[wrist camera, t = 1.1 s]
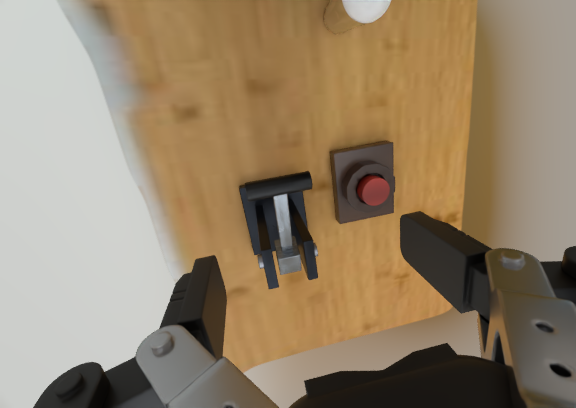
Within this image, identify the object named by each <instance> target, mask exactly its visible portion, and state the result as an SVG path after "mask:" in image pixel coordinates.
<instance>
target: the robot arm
mask: <svg viewBox="0 0 576 408" xmlns="http://www.w3.org/2000/svg"><path fill="white" fill-rule="evenodd" d="M400 248H401V252H402V255H403V257H404V259H405V260H406V261H407V262H408V263H409V264H410V265H411V266H412V267H413V268H414V269H415V270H416V271H417V272H418V273H419V274H420V275H421V276H422V277H423V278H424V279H425V280H427V281H428V282H429V283H430V284H431V285H432V286H433V287H434V288H435V289H436V290H437V291H438V292H439V293H440V294H441V295H442V296H443V297H444V298H445V299H446V300H447V301H448V302H450V303H451V304H452V305H453V306H454V307H455V308H456V309H457V310H458V311H459V312H460V313H465V312H469V311H473V310H476V311H478V319H477V322H478V331H479V340H480V350H481V358H480V357H475V356H467V355H457V354H456V353H455V351H454V350H453V349H452V348H451V347H450V346H449V345H448V343H445V344H441V345H438V346H434V347H430V348H427V349H423V350H419V351H415V352H412V353H411V354H409V355H408V356H406V357H404V358H403V359H401V360H399V361H398V362H396V363H394V364H393V365H391V366H389V367H388V368H386V369H384V370H380V371H339V372H336V373H332V374H328V375H325V376H321V377H317V378H313V379H309V380H306V381H304V382H305V387H306V393H307V394H306V395H305V396H303V397H301V398H300V399H298V400H297V401H296V402H295V403H293V404H292V405H291V406H290V407H289V408H576V246H573V247H569V248H567V249H566V250H565V252H564V256H563V261H557V262H555V261H553V262H540V261H539V260H538V259H536V258H535V257H534V256H532V255H530V254H528V253H525V252H522V251H519V250H515V249H507V248H498V249H491V248H489V247H488V246H486V245H484V244H483V243H481V242H479V241H477V240H476V239H474V238H472V237H470V236H469V235H466V234H465V233H464V232H462V231H460V230H458V229H457V228H455V227H453V226H451V225H450V224H448V223H445V222H442V221H438V220H434V219H433V218H431V217H429V216H428V215H426V214H424V213H423V212H420V211H418V212H414V213H409V214H405V215H402V216H401V218H400ZM226 304H227V297H226V290H225V286H224V282H223V279H222V275H221V272H220V268H219V265H218V262H217V259H216V256H215V255H213V256H208V257H203V258H199V259H196V260H195V263H194V266H193V270H192V273H187V274H184V275H183V276H182V277H181V278H180V279H179V281H178V282H177V283H176V285H175V287H174V290H173V294H172V296H171V298H170V302H169V304H168V306H167V309H166V312H165V314H164V317H163V320H162V323H161V326H160V328H159V329H158V330H157V331H155V332H153V333H152V334H151V335H149V336H148V337H147V338H146V339H145V340H144V341H143V342H142V343H141V344H140V346H139V347H138V349H137V352H136V356H135V357H134V358H132V359H130V360H128V361H126V362H124V363H122V364H120V365H118V366H116V367H114V368H112V369H110V370H108V371H106V372H104V371H103V369H102V367H101V365H100V364H98V363H94V362H89V363H84V364H81V365H78V366H76V367H74V368H72V369H70V370H68V371H67V372H65V373H63V374H62V375H61V376H59V377H58V378H57V379H56V380H54V381H53V382H52V383H51V384H50V385H49V386H48V387H47V388H46V390H45V391H44V392H43V394H42V395H41V396H40V398H39V399H38V401H37V402H36V404H35V406H34V407H33V408H279V407H278V406H277V405H276V404H275V403H274V402H273V401H272V400H271V399H270V398H269V397H268V396H266V395H265V394H264V393H263V392H262V391H261V390H260V389H259V388H258V387H257V386H256V385H255V384H254V383H253V382H252V381H251V380H250V379H248V378H247V377H246V376H245V375H244V374H243V373H242V372H241V371H240V370H239V369H238V368H237V367H236V366H235V365H234V364H233V363H232V362H230V361H229V360H228V359H227V358H226V357H223V356H222V355H223V342H224V330H225V317H226Z"/></svg>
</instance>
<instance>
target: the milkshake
mask: <svg viewBox="0 0 576 408" xmlns="http://www.w3.org/2000/svg"><path fill="white" fill-rule="evenodd" d="M390 2H391V0H331V1H330V3H329V4H328V6H327V8H326V9H325V14H324V23H325V25H326V27H327V30H328V31H330V32H332V33H334V34H340V33H344V32H347V31H349V30H351V29H354V28H356V27H359V26H362V25H365V24H368V23H371V22H374V21H375V20H377V19H379V18H380V17H381V16H382V15H383V14H384V13H385V12H386V10H387V9H388V7H389V4H390Z"/></svg>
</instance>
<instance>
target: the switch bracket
mask: <svg viewBox="0 0 576 408" xmlns="http://www.w3.org/2000/svg"><path fill="white" fill-rule="evenodd" d="M239 190H240V195H241V199H242V203H243V208H244V212H245V216H246V221H247V225H248V229H249V234H250V238H251V243H252V247H253V251H254V255H257V257H258V263H259V267H260V269H261V268H264V269H265V273H266V278H267V283H268V287H269V289H273V288H277V287H279V285H278V280H277V275H276V270H275V265H274V260H273V255H272V251H276V250H275V245H274V240H278V239H279V233H278V227H277V220H276V214H275V208H274V202H273V197H270V198H265V199H259V200H254V201H248V199H247V194H246V189H245V185H241V186H239ZM287 196H288V206H289V215H290V225H291V234H292V236H295V238H296V241H297V245H298V249H299V252H300V257H301V261H302V264H303V266H304V269H305V272H306V274H307V277H308V279H309V280H312V279H316V278H318V273H317V265H316V258H315V257H316V256H318V250H317V246H316V244H315V243H313V239H312V237H311V235H310V233H309V231H308V228H307V221H306V213H305V206H304V199H303V192H302V191H300V192H295V193H290V194H287ZM258 254H259V255H258Z"/></svg>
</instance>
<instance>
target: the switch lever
mask: <svg viewBox="0 0 576 408" xmlns="http://www.w3.org/2000/svg"><path fill="white" fill-rule="evenodd" d="M245 189H246V194H247V199H248V201H254V200H259V199H265V198H270V197H273V202H274V208H275V214H276V220H277V227H278V233H279V239H278V240H274V245H275V250H276V256H277V260H278V265H279V270H280V275H283V274H287V273H292V272H296V271H301V257H300V252H299V249H298V245H297V241H296V238H295V236H292V234H291V225H290V215H289V206H288V196H287V194H290V193H295V192H300V191H305V190H310V189H312V179H311V175H310V173H309V171H306V172H300V173H295V174H290V175H285V176H279V177H274V178H269V179H264V180H258V181H253V182H248V183H245Z"/></svg>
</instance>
